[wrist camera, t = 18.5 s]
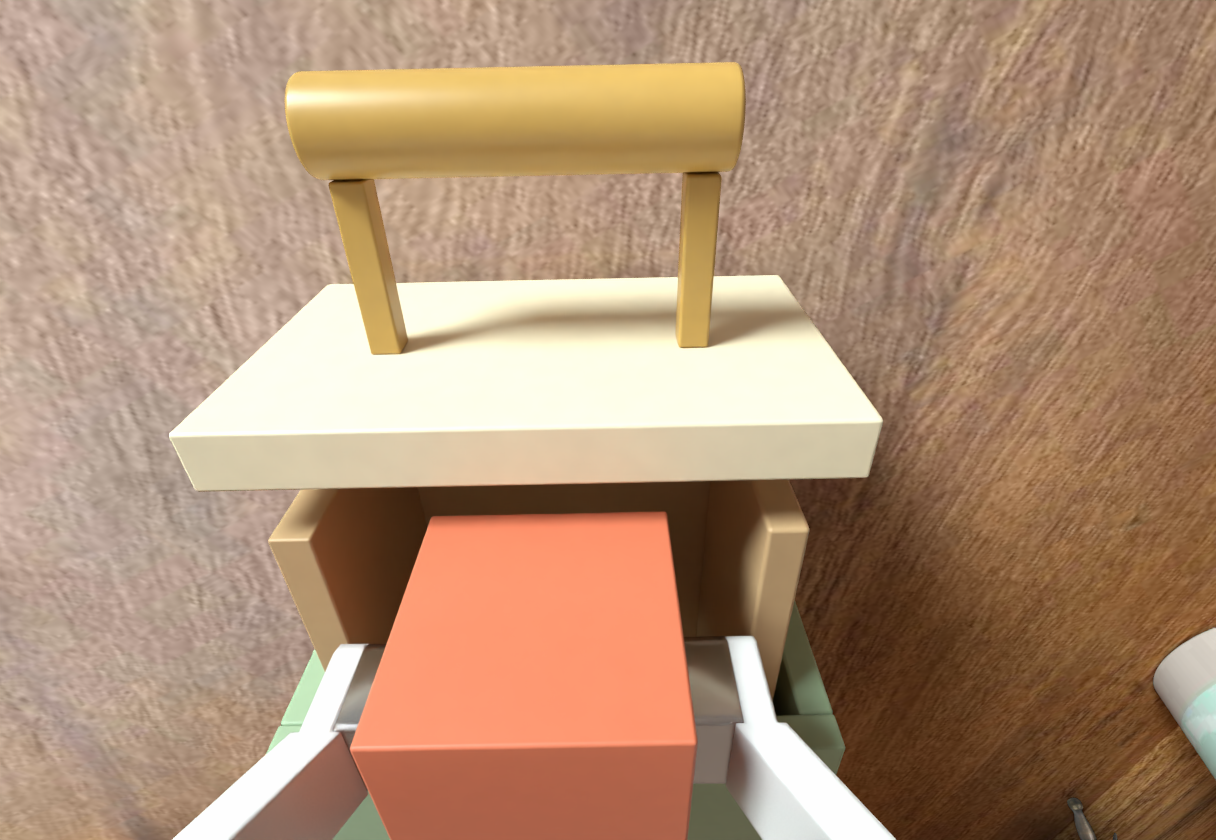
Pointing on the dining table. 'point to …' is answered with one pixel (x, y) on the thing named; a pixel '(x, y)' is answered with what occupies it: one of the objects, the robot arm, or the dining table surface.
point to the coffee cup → (1192, 692)
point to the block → (534, 685)
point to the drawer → (533, 359)
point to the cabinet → (715, 816)
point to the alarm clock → (1082, 821)
